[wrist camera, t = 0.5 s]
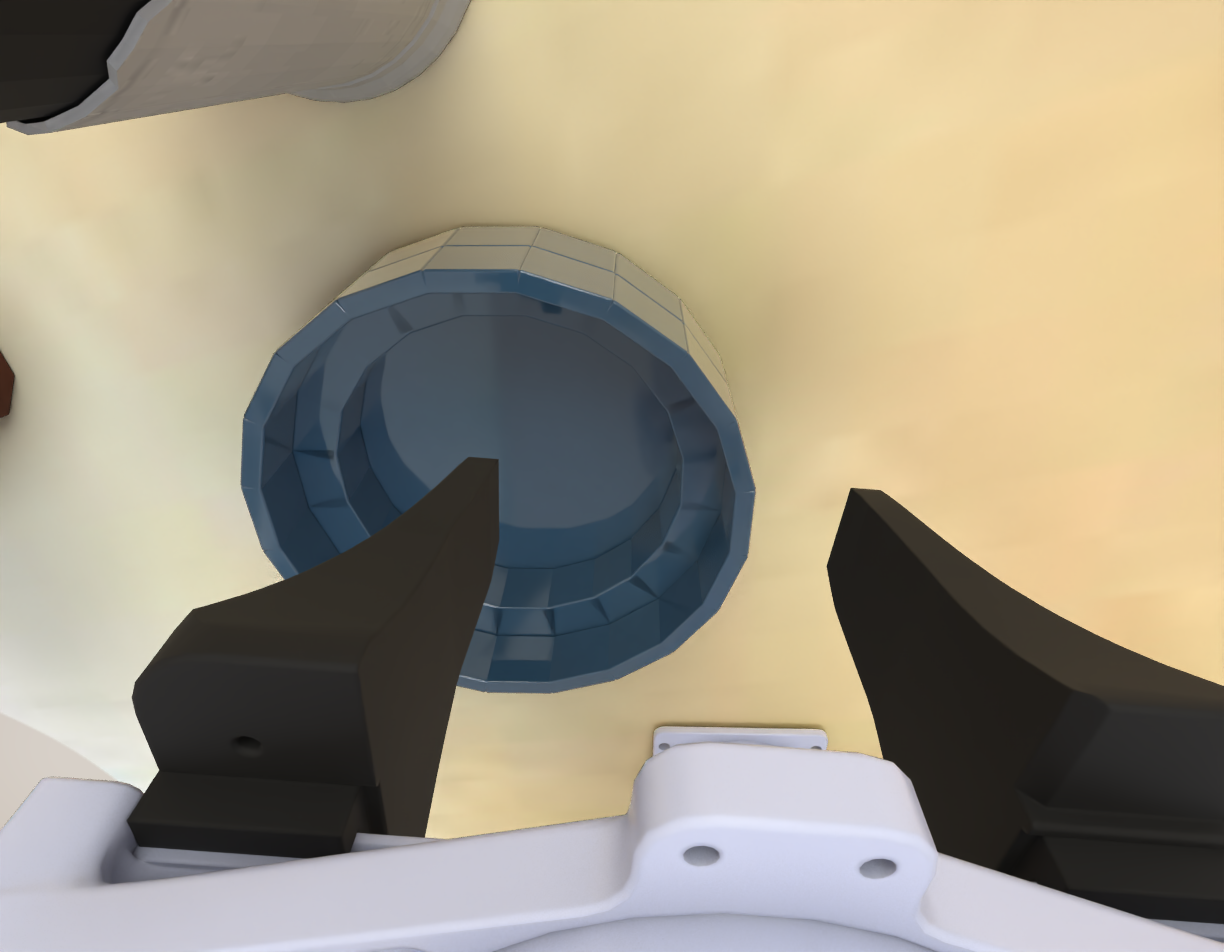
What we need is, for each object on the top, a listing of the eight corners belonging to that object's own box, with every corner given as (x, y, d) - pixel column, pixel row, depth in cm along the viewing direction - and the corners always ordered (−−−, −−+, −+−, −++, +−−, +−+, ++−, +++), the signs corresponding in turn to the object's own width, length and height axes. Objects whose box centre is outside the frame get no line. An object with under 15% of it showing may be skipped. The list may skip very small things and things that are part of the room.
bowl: (717, 599, 29) (731, 697, 24) (357, 594, 29) (309, 690, 25) (753, 221, 21) (783, 269, 17) (258, 222, 21) (164, 269, 17)
